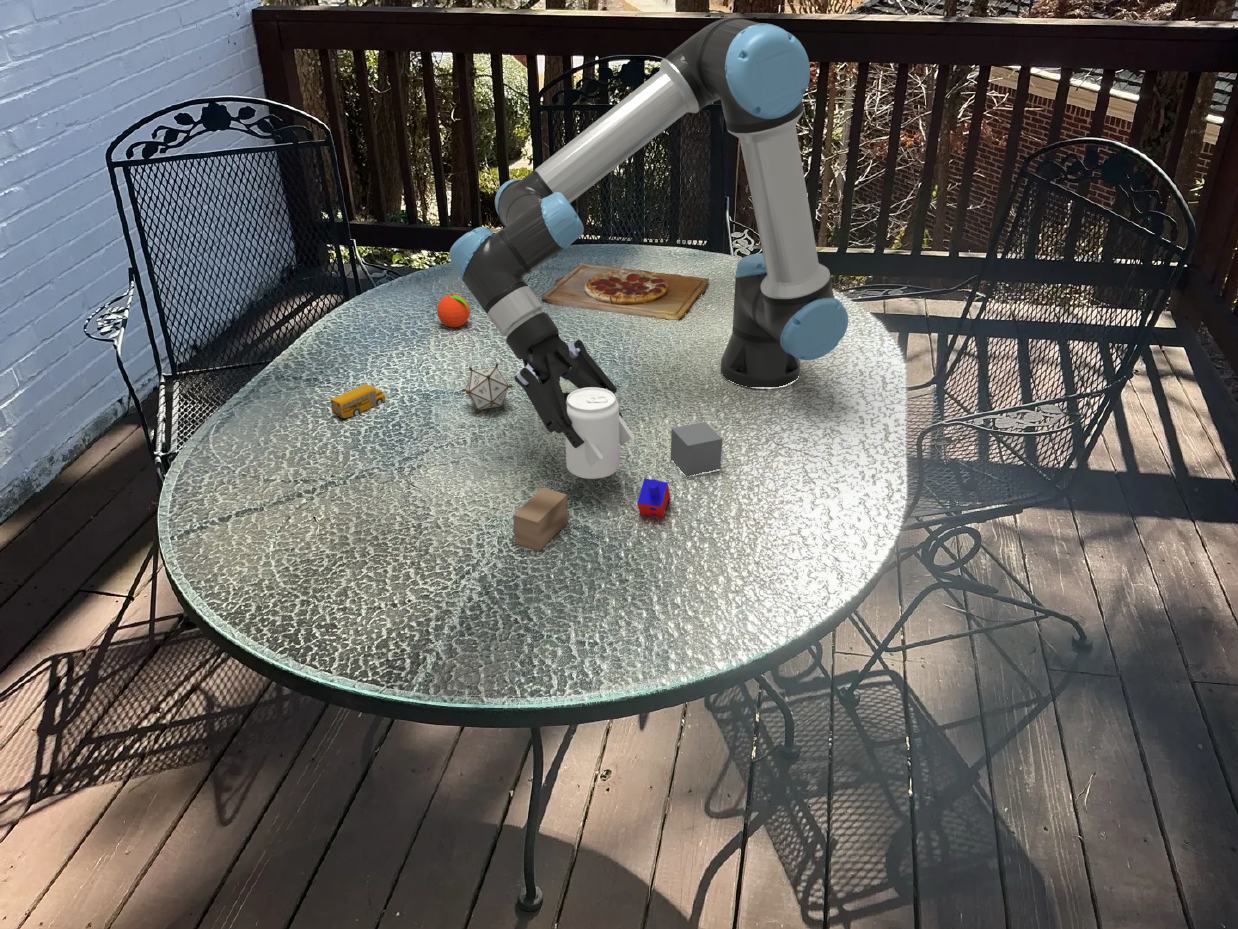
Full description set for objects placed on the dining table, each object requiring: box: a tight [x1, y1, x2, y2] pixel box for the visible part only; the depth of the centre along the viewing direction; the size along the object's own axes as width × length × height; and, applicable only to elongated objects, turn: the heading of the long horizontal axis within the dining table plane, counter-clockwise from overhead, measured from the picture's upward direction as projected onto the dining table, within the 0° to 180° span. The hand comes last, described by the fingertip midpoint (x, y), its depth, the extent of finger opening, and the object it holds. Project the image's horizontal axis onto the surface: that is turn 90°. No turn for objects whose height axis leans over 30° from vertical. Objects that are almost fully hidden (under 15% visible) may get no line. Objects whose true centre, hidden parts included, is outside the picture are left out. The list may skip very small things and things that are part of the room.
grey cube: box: [670, 421, 723, 478], centre depth 150 cm, size 6×6×6 cm
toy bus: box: [330, 383, 386, 419], centre depth 167 cm, size 3×10×4 cm, turn 143°
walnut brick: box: [512, 487, 569, 552], centre depth 134 cm, size 8×4×5 cm, turn 152°
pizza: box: [540, 262, 710, 321], centre depth 217 cm, size 35×28×4 cm
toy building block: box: [636, 478, 671, 519], centre depth 138 cm, size 4×4×8 cm
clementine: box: [436, 293, 471, 328], centre depth 198 cm, size 8×7×7 cm
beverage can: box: [564, 387, 621, 480], centre depth 140 cm, size 8×8×12 cm
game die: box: [460, 362, 514, 415], centre depth 166 cm, size 9×8×10 cm
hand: (612, 451), depth 140 cm, fingers closed on beverage can, 7 cm apart
